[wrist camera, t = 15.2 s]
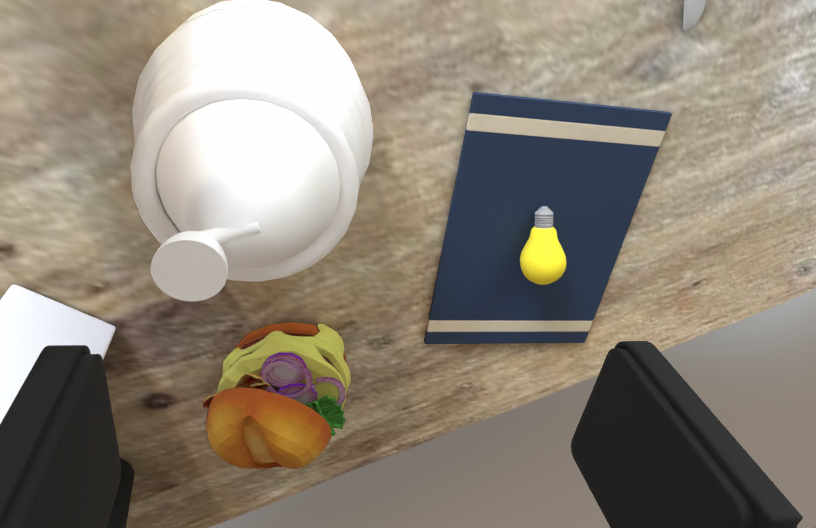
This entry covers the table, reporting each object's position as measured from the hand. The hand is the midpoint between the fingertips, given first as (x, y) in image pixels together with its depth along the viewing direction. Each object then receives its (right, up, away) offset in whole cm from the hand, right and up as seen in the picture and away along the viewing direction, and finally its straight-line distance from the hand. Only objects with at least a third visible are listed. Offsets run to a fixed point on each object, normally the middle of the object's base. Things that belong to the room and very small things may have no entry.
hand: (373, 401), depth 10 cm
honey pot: (-9, +12, +25) cm, 29 cm away
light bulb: (+11, +5, +33) cm, 35 cm away
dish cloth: (+11, +5, +33) cm, 35 cm away
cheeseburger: (-10, -6, +36) cm, 37 cm away
